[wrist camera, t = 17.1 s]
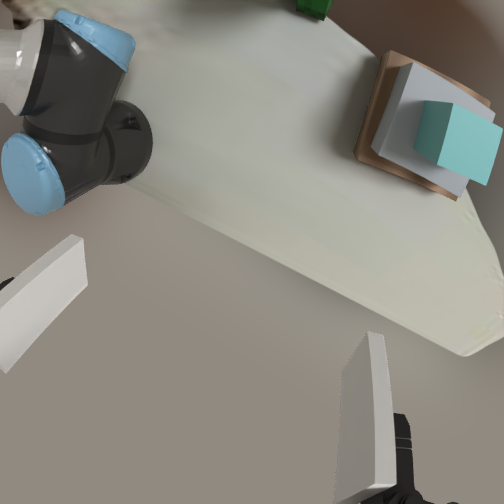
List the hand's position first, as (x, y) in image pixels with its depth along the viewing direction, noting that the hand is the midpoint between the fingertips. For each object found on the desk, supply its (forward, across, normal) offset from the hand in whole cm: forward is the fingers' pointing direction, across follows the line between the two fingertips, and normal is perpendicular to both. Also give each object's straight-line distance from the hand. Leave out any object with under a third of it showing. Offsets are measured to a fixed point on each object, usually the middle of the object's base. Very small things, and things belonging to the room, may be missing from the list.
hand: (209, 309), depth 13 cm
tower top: (+31, +16, +11) cm, 37 cm away
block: (+25, +16, +10) cm, 32 cm away
